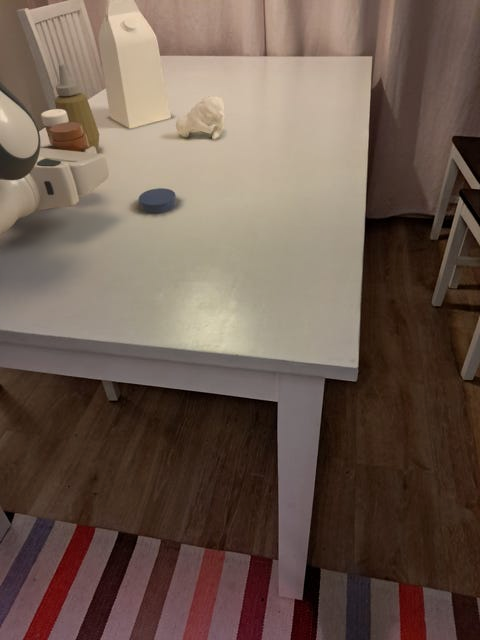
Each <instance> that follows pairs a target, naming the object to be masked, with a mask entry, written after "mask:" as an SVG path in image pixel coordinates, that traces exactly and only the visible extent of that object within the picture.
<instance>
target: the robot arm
mask: <svg viewBox="0 0 480 640" xmlns="http://www.w3.org/2000/svg"><path fill="white" fill-rule="evenodd" d="M40 135H41V134H40V130H39V127H38V125H37V123H36V120H35V119H34V117H33V115H32V113H31V112H30V111H29V109H28V108H27V107H26V106H25V105H24V104H23V102H21V100H20V99H19V98H18V97H17V96H16V95H14V93H12V92H11V91H10V90H9V89H8V88H7V87H6V86H5V85H4V84H3V83H2V82H1V81H0V235H2V234H3V233H5V232H7V231H8V230H9V229H11V228H12V227H13V226H14V225H15V224H16V222H17V220H18V219H21V218H25V217H27V216H29V215H31V214H32V213H34V212H35V211H37V212H40V211H44V210H48V209H52V208H64V207H65V208H66V207H67V208H68V207H73V206H75V205H77V204H79V201H80V198H79V197H81V196H84V195H88V194H89V193H90V192H92V191H94V190H96V188H98V187H100V186H101V185H102V184H103V183H104V182H105V181H107V180H108V179H109V176H110V171H109V165H108V161H107V159H106V157H105V155H104V154H103V153H97V152H96V148H95V147H92V146H86V147H85V148H83V149H82V150H83V152H78V151H68V150H58V149H53V147H52V144H51V143H50V142H49V143H48V144H46V145H42V143H41V136H40Z"/></svg>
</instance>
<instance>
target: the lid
mask: <svg viewBox="0 0 480 640" xmlns="http://www.w3.org/2000/svg"><path fill="white" fill-rule="evenodd" d="M138 203H139V207H140V210H141V211H143V212H144V213H146V214H153V215H155V214H156V215H157V214H158V215H159V214H165V213H167V212H169V211H172V210H174V209H175V208H176V207H177V203H178V202H177V196H176V192H175V191H174V190H172V189H170V188H163V187H161V188H160V187H157V188H152V189H149V190H146V191H144V192H142V193H140V194H139V197H138Z"/></svg>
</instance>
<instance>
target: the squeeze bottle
mask: <svg viewBox="0 0 480 640" xmlns="http://www.w3.org/2000/svg"><path fill="white" fill-rule="evenodd" d="M58 74H59V83H58V84H55V90H56V93H57V95H58V96H56V97H55V100H54V105H55V109H63V110H65V111H66V113H67V116H68V120H69V121H68V122H76V123H80V124H81V126H82V130H83V131H84V132H85V133H86V136H87V140H88V144H89V146H92V147H95V148H96V152H97V153H98V152H99V145H100V133H99V129H98V127H97V123H96V120H95V118H94V114H93V112H92V108H91V106H90V103H89V100H88V97H87V95H85V94H84V93H82V92H81V88H80V84H79V82H76V81H74V80H73V79H72V77H71V75H70V72H69V70H68V69H67V66H66V64H58ZM98 154H99V153H98Z"/></svg>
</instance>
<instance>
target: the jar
mask: <svg viewBox="0 0 480 640" xmlns="http://www.w3.org/2000/svg"><path fill="white" fill-rule="evenodd" d="M50 134H51V138H50V141H51V144H52V147H53V149H58V150H68V151H78V152H83V150H82V149H83V148H85V147H86V146H89V144H88V140H87V136H86V133H85V132H84V131H83V130H82V126H81V124H80V123H76V122H66V123H61V124H57V125H54V126H52V127H51V128H50ZM50 141H49V142H50Z"/></svg>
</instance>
